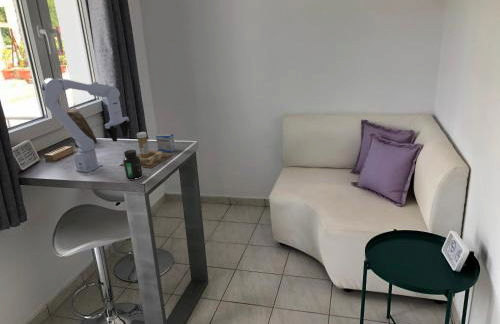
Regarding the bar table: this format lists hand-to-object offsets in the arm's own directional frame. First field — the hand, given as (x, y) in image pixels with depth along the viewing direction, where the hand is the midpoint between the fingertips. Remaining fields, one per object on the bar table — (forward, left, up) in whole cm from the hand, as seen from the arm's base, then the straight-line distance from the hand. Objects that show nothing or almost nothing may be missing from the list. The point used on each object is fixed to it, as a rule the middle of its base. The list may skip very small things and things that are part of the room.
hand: (120, 138), depth 193 cm
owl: (+18, +42, -11) cm, 47 cm away
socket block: (0, -13, -10) cm, 17 cm away
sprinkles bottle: (0, -13, -10) cm, 16 cm away
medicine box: (+15, -15, -11) cm, 24 cm away
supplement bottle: (-20, -21, -11) cm, 31 cm away
